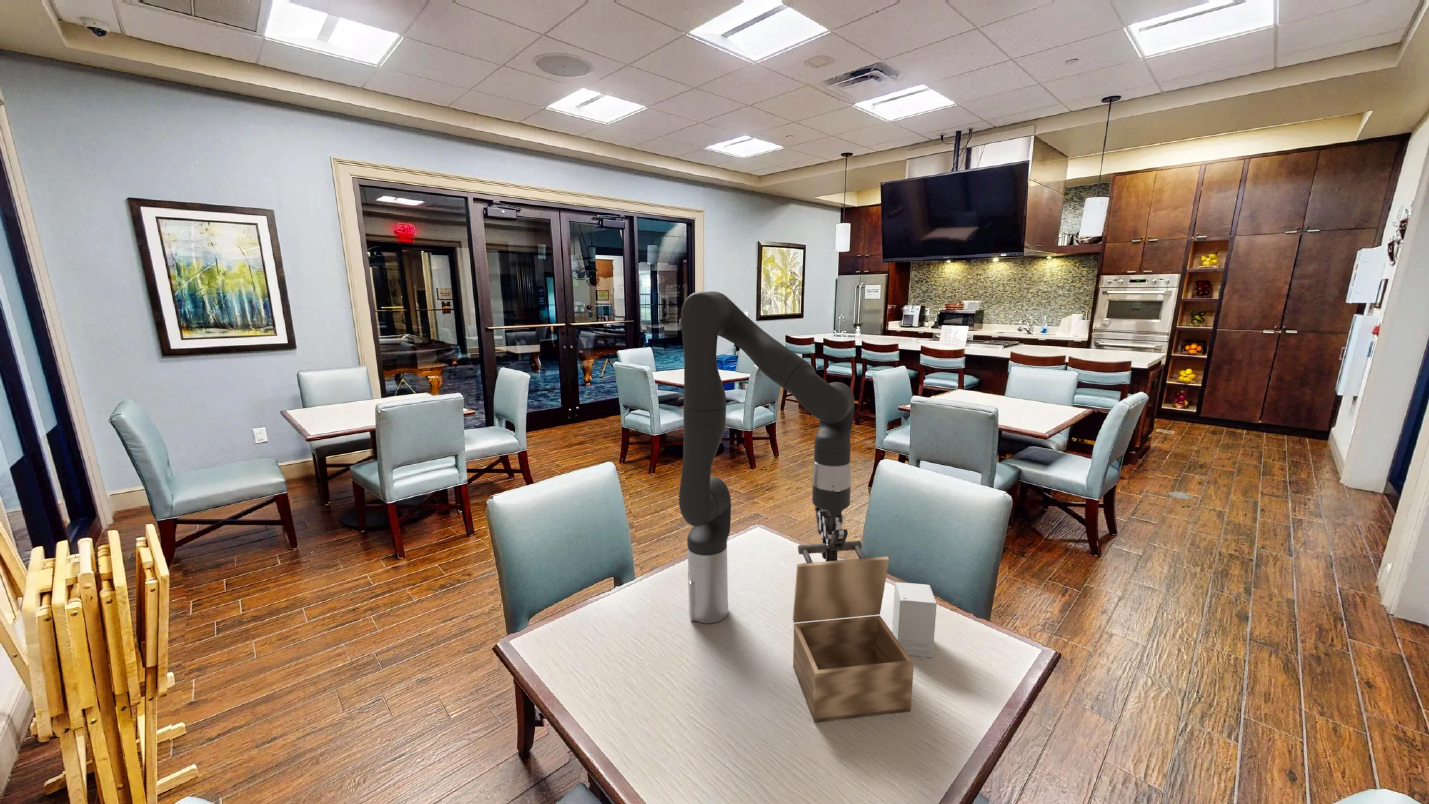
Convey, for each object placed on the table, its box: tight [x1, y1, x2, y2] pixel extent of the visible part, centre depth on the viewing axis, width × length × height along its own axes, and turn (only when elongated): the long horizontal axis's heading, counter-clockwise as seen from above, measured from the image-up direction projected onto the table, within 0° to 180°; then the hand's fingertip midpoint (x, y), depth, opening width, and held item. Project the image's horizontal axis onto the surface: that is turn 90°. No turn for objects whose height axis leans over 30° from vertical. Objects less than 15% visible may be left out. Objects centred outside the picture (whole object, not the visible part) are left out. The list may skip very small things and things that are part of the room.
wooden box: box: [792, 614, 915, 724], centre depth 98 cm, size 18×14×10 cm
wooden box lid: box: [792, 540, 890, 624], centre depth 105 cm, size 18×14×9 cm
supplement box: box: [891, 581, 938, 658], centre depth 110 cm, size 7×7×13 cm
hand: (829, 560), depth 107 cm, fingers closed on wooden box lid, 2 cm apart
